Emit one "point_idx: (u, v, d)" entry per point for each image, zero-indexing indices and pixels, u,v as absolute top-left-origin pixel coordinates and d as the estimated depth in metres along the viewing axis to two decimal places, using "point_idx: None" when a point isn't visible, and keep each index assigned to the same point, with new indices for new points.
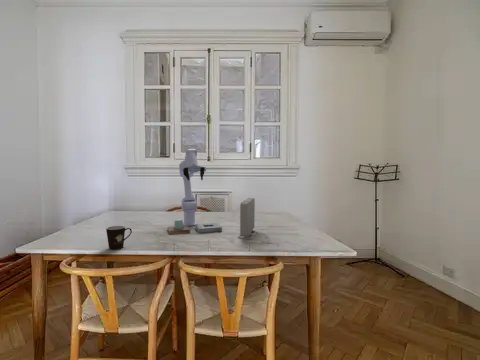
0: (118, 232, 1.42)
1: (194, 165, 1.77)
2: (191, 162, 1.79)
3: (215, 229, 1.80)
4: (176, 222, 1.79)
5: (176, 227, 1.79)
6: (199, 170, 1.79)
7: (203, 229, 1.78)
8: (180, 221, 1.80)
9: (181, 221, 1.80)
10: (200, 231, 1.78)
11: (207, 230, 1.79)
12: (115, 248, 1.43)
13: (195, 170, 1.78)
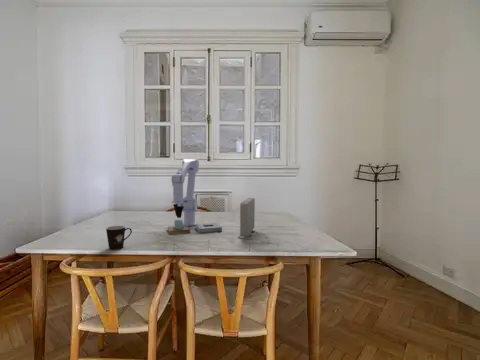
0: (118, 232, 1.42)
1: (173, 202, 1.79)
2: None
3: (215, 229, 1.80)
4: (176, 222, 1.79)
5: (176, 227, 1.79)
6: None
7: (203, 229, 1.78)
8: (180, 221, 1.80)
9: (181, 221, 1.80)
10: (200, 231, 1.78)
11: (207, 230, 1.79)
12: (115, 248, 1.43)
13: None
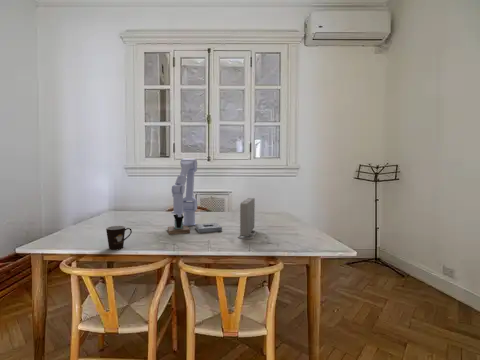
0: (118, 232, 1.42)
1: None
2: None
3: (215, 229, 1.80)
4: None
5: (176, 227, 1.79)
6: None
7: (203, 229, 1.78)
8: None
9: None
10: (200, 231, 1.78)
11: (207, 230, 1.79)
12: (115, 248, 1.43)
13: None
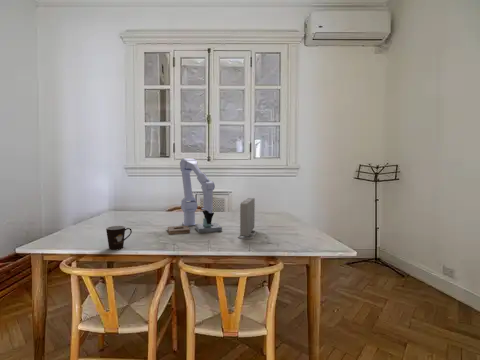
0: (118, 232, 1.42)
1: (203, 209, 1.84)
2: None
3: (215, 229, 1.80)
4: (205, 221, 1.84)
5: (205, 225, 1.84)
6: (209, 212, 1.82)
7: (203, 229, 1.78)
8: None
9: None
10: (200, 231, 1.78)
11: (207, 230, 1.79)
12: (115, 248, 1.43)
13: None
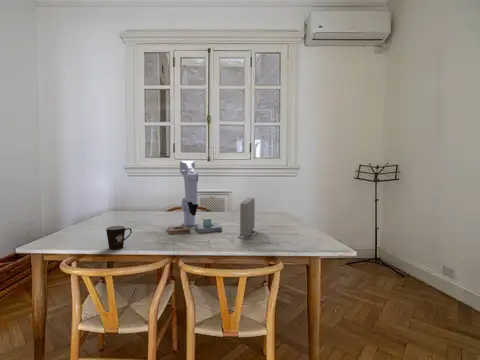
0: (118, 232, 1.42)
1: (187, 201, 1.85)
2: None
3: (215, 229, 1.80)
4: (205, 221, 1.84)
5: (205, 225, 1.84)
6: None
7: (203, 229, 1.78)
8: (209, 220, 1.84)
9: (210, 220, 1.85)
10: (200, 231, 1.78)
11: (207, 230, 1.79)
12: (115, 248, 1.43)
13: (193, 202, 1.85)
